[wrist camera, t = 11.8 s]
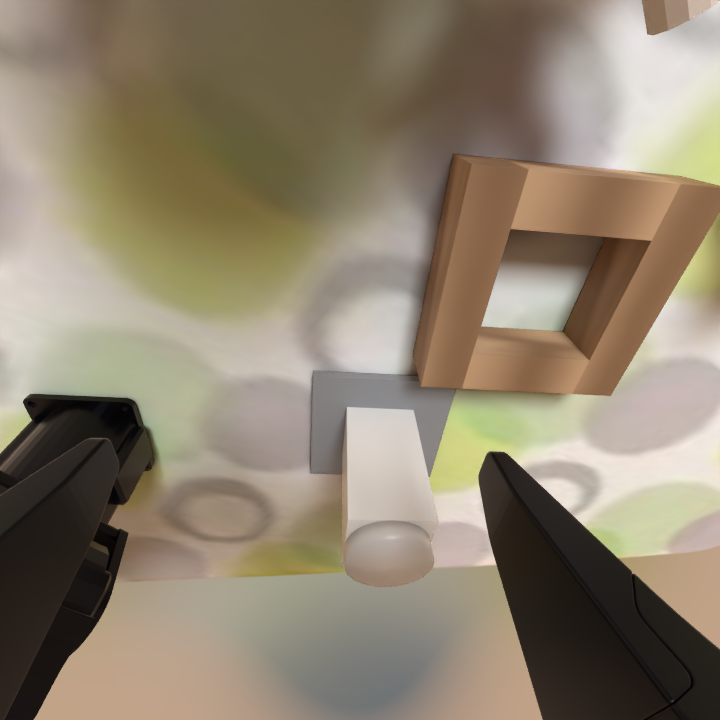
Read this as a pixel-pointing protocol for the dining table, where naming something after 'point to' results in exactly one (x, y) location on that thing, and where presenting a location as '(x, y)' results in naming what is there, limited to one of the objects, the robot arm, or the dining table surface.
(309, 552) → the dining table surface
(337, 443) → the mat
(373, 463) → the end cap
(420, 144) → the dining table surface
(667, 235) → the housing
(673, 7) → the pipe connector
